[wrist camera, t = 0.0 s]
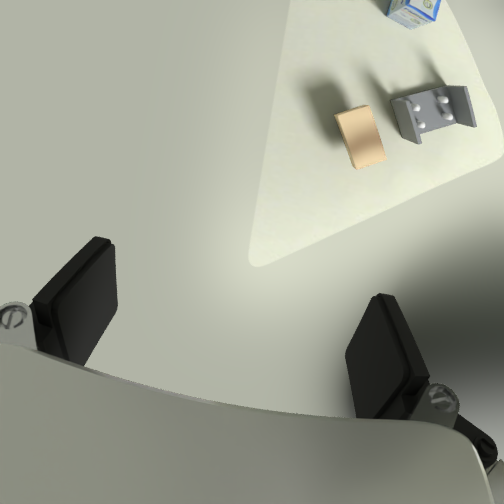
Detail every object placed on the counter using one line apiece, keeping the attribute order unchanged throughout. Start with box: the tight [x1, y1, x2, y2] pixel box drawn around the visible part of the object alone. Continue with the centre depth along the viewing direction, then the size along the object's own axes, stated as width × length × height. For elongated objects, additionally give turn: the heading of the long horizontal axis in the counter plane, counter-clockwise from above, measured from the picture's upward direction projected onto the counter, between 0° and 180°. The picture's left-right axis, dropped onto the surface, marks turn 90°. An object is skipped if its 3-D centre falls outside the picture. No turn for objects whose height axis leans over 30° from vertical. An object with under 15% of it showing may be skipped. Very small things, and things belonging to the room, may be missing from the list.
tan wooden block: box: [334, 105, 387, 170], centre depth 38 cm, size 8×4×2 cm, turn 24°
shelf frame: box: [390, 85, 477, 144], centre depth 36 cm, size 6×11×6 cm, turn 114°
